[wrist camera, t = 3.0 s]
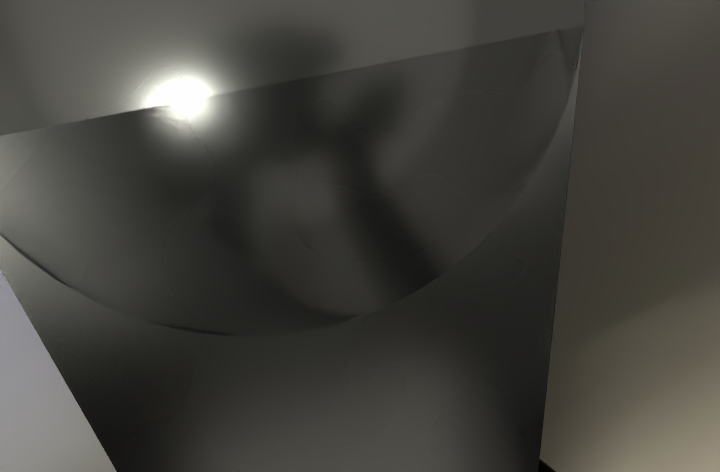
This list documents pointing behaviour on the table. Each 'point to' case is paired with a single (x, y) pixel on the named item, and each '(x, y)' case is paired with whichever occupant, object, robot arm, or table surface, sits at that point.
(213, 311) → the grey notched block
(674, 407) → the table surface
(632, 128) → the table surface
